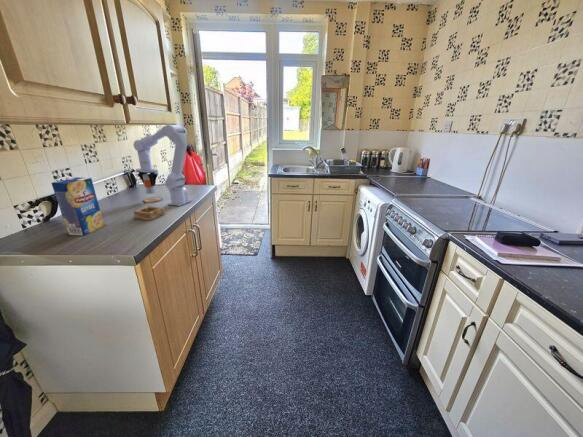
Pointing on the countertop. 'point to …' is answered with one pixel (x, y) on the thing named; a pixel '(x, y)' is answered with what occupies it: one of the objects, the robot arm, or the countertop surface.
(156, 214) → the holder
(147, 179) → the can
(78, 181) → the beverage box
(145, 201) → the coaster
